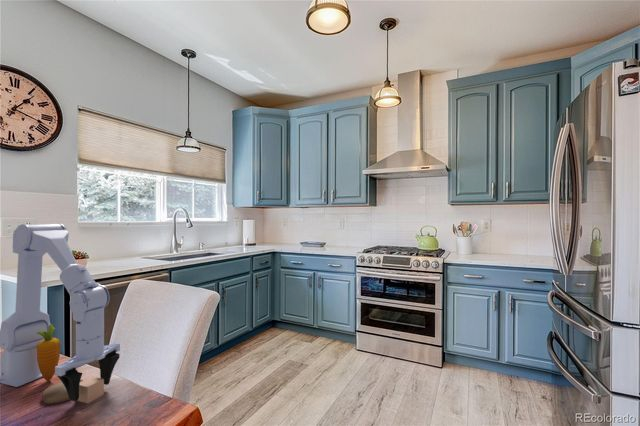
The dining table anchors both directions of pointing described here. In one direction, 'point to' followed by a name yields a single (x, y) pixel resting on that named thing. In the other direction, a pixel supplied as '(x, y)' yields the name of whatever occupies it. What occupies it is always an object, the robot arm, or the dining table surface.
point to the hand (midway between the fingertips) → (90, 391)
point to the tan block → (91, 389)
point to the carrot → (48, 353)
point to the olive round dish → (56, 393)
